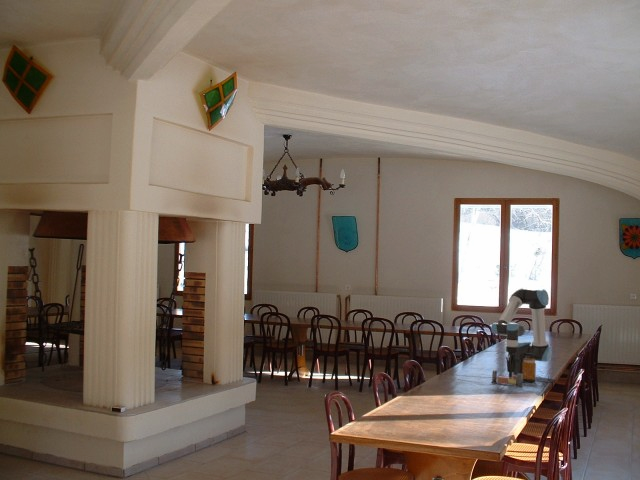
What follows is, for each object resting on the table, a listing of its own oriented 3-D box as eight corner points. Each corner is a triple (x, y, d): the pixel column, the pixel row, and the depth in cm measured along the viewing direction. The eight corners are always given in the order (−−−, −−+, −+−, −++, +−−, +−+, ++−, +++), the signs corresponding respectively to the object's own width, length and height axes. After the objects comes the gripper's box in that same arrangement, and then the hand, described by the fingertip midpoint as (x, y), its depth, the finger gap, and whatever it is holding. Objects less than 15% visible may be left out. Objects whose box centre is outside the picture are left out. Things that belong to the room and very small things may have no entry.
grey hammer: (510, 384, 465) (510, 372, 465) (522, 386, 460) (522, 374, 460) (507, 385, 462) (508, 373, 462) (520, 387, 457) (520, 374, 457)
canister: (535, 383, 474) (536, 353, 474) (518, 382, 476) (519, 352, 476) (534, 381, 482) (535, 352, 483) (517, 380, 485) (518, 351, 485)
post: (492, 381, 473) (493, 370, 473) (498, 382, 471) (498, 370, 471) (490, 382, 470) (490, 370, 470) (495, 383, 468) (496, 371, 468)
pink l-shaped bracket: (498, 382, 470) (498, 373, 470) (517, 385, 462) (517, 376, 462) (497, 382, 468) (497, 373, 468) (516, 385, 460) (516, 376, 460)
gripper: (510, 344, 473) (509, 379, 473) (502, 346, 463) (501, 382, 463) (521, 346, 469) (520, 381, 468) (513, 347, 458) (512, 383, 458)
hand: (510, 381), depth 465 cm, fingers closed
